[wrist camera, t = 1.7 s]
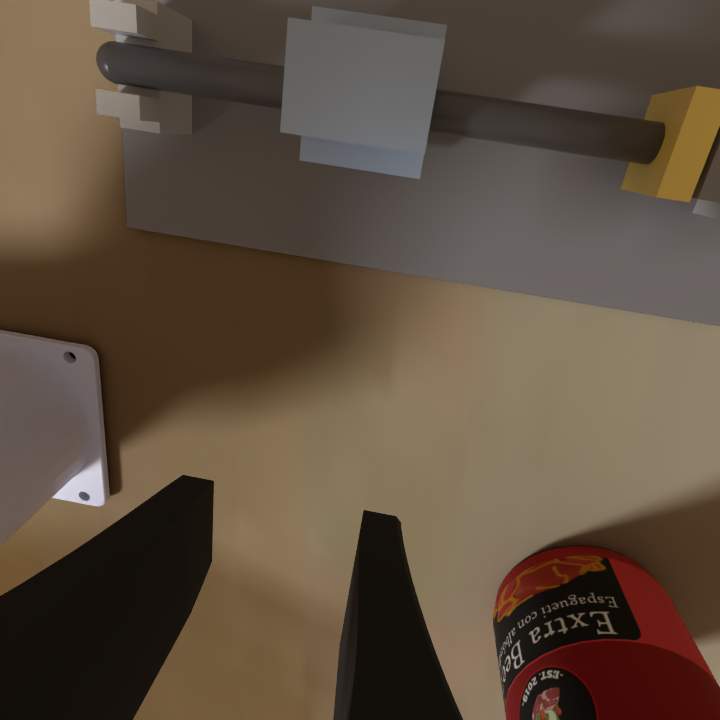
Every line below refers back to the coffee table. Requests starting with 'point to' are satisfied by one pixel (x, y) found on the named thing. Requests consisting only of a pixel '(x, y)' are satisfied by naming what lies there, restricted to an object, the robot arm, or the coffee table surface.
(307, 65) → the sleeve
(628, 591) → the canned food
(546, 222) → the linear slide rail
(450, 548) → the coffee table surface
